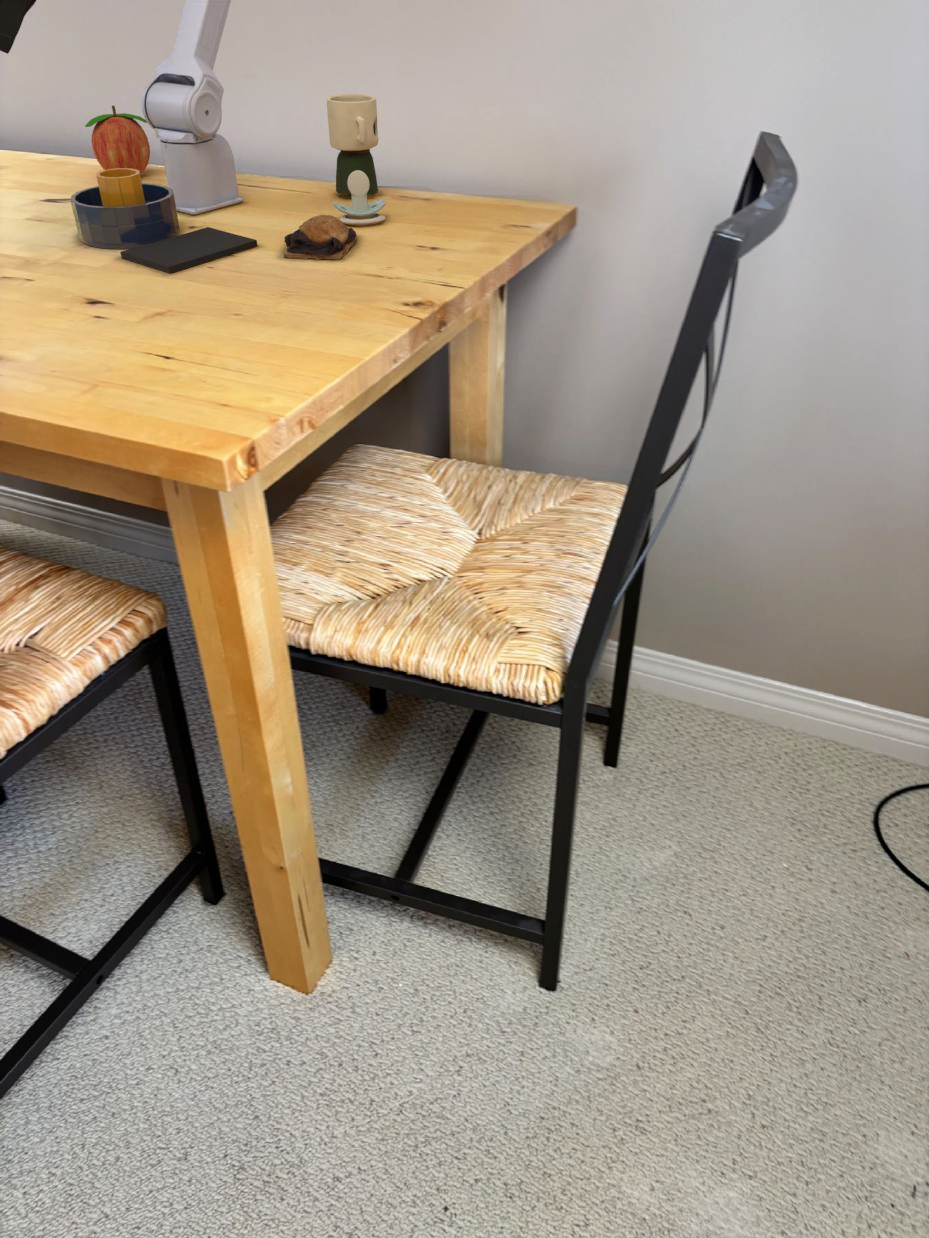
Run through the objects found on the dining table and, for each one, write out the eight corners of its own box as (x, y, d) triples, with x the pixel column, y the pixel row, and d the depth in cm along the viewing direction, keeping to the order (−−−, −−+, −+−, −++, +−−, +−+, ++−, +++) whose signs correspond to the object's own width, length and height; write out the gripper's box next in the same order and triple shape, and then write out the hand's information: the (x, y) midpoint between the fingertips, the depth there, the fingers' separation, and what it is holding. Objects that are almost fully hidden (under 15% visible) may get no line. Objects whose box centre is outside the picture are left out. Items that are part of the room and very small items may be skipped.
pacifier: (390, 226, 129) (383, 213, 133) (389, 178, 125) (381, 166, 129) (337, 229, 128) (332, 216, 132) (334, 180, 124) (329, 168, 128)
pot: (140, 216, 132) (132, 178, 129) (200, 232, 126) (193, 193, 123) (60, 237, 124) (50, 196, 121) (119, 255, 118) (110, 213, 114)
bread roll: (301, 234, 126) (298, 205, 123) (362, 237, 125) (360, 207, 122) (277, 258, 117) (273, 227, 115) (343, 261, 116) (340, 230, 114)
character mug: (390, 202, 139) (386, 103, 131) (344, 206, 136) (337, 106, 128) (369, 185, 146) (364, 90, 139) (325, 189, 144) (317, 93, 136)
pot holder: (209, 233, 125) (208, 227, 125) (257, 246, 121) (256, 240, 120) (121, 258, 117) (119, 251, 116) (170, 273, 112) (169, 266, 112)
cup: (133, 222, 127) (122, 166, 123) (159, 229, 125) (148, 172, 120) (100, 231, 124) (87, 173, 120) (125, 238, 121) (113, 180, 117)
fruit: (98, 171, 153) (83, 102, 147) (158, 168, 155) (146, 100, 148) (95, 184, 146) (79, 112, 140) (158, 180, 148) (145, 109, 142)
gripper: (-20, -87, 107) (-42, 39, 109) (-11, -133, 95) (-36, 9, 97) (46, -54, 111) (24, 67, 113) (63, -94, 99) (38, 41, 101)
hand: (1, 42), depth 105 cm, fingers open, 7 cm apart
